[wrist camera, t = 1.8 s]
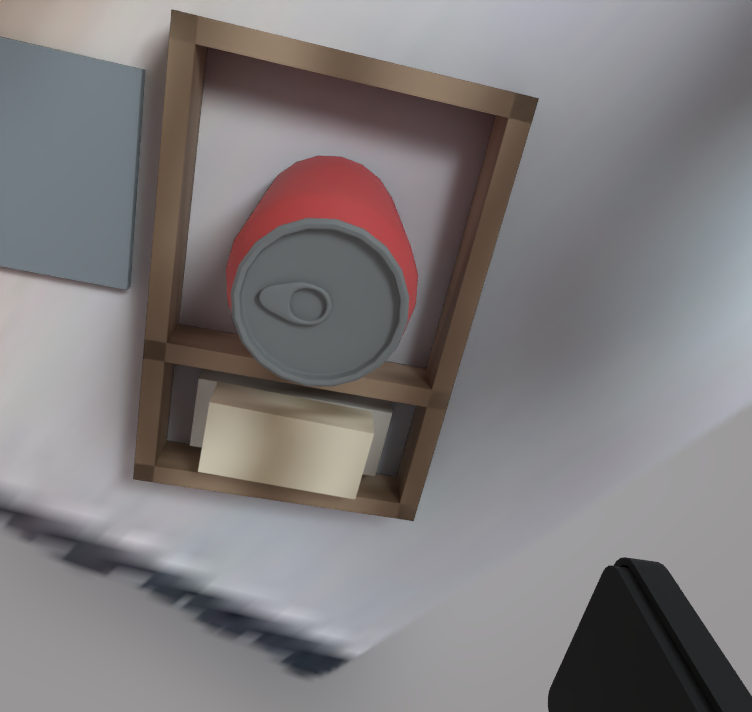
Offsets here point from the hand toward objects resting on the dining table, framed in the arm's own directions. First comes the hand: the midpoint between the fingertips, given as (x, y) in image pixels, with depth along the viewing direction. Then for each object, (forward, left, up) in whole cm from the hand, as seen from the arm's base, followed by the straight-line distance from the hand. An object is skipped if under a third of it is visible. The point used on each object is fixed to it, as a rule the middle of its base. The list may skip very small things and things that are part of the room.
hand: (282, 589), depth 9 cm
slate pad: (+14, 0, -24) cm, 27 cm away
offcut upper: (0, +11, -22) cm, 25 cm away
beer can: (0, 0, -24) cm, 24 cm away
